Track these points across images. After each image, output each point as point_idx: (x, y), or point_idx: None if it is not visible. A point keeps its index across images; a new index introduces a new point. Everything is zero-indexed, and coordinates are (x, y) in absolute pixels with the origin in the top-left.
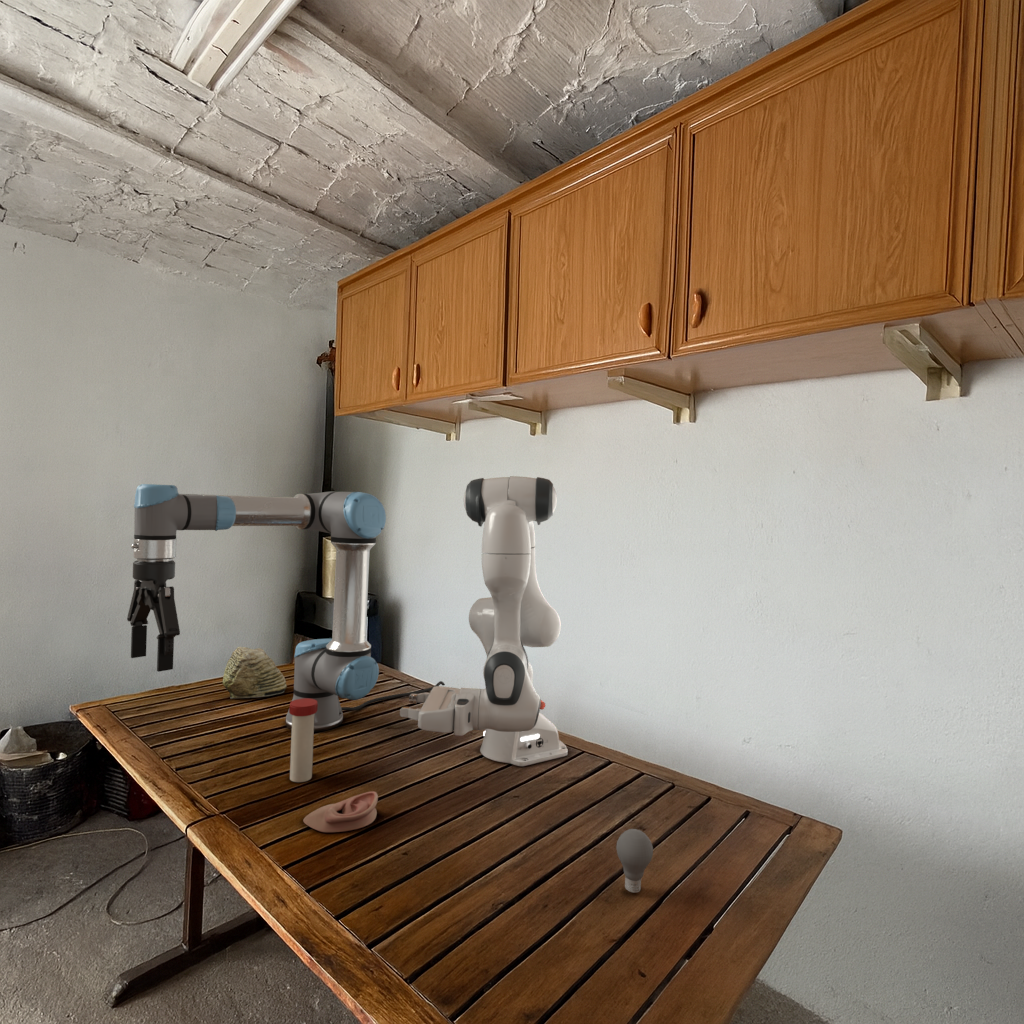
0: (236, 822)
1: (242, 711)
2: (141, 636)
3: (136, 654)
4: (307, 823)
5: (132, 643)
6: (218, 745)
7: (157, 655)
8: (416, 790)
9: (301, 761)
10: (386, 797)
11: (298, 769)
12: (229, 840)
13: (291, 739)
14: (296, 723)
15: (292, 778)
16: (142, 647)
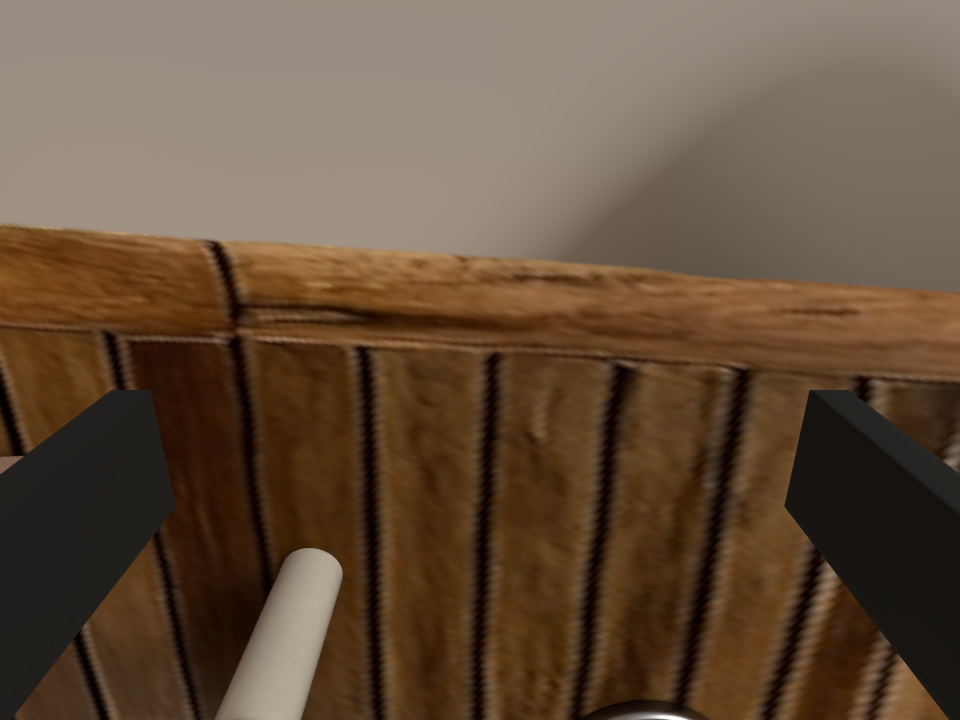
0: (154, 343)
1: (905, 680)
2: (941, 629)
3: (819, 444)
4: (19, 459)
5: (913, 476)
6: (702, 524)
7: (45, 475)
8: (68, 703)
9: (265, 603)
10: (72, 645)
11: (277, 580)
12: (61, 286)
13: (284, 642)
14: (234, 698)
15: (302, 553)
16: (842, 536)
